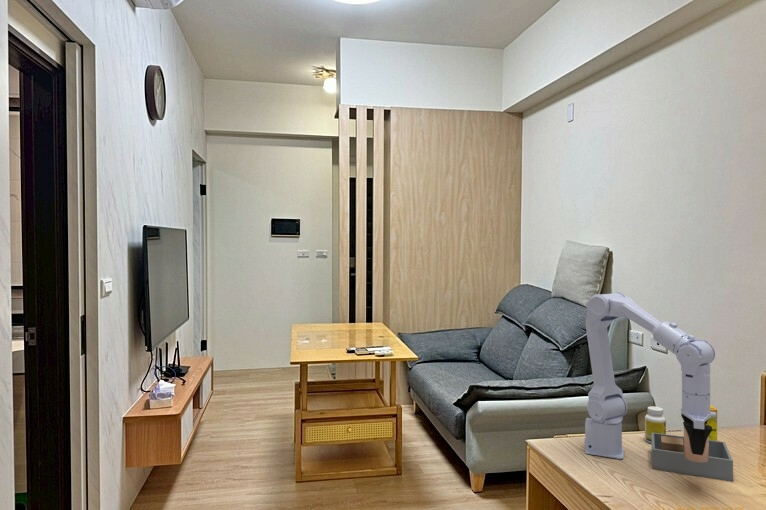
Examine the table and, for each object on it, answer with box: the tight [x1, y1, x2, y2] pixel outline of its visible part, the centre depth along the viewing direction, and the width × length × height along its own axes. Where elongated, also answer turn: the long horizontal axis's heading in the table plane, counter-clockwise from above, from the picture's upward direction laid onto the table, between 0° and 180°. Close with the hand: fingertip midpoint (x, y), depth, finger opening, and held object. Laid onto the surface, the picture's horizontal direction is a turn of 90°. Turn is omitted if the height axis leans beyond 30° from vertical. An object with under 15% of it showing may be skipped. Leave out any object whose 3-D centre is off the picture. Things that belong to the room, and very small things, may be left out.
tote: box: [651, 432, 734, 482], centre depth 134 cm, size 17×13×5 cm
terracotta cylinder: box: [683, 426, 709, 462], centre depth 121 cm, size 5×5×7 cm
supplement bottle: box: [644, 405, 667, 445], centre depth 149 cm, size 5×5×10 cm
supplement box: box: [705, 403, 718, 441], centre depth 148 cm, size 6×6×11 cm
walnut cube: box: [661, 436, 684, 453], centre depth 135 cm, size 5×5×5 cm
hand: (696, 449), depth 121 cm, fingers closed on terracotta cylinder, 5 cm apart
